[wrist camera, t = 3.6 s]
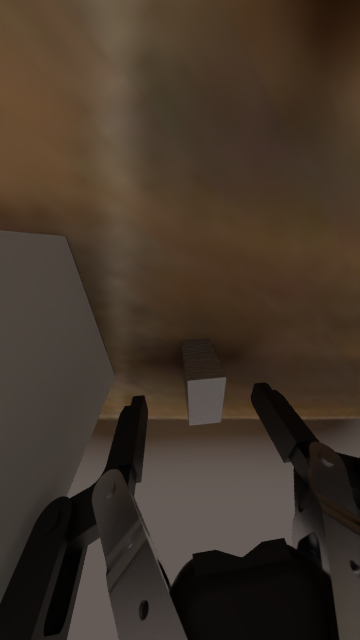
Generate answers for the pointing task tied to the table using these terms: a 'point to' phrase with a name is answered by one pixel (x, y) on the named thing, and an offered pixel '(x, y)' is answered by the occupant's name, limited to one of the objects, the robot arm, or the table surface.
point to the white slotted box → (43, 382)
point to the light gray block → (202, 381)
